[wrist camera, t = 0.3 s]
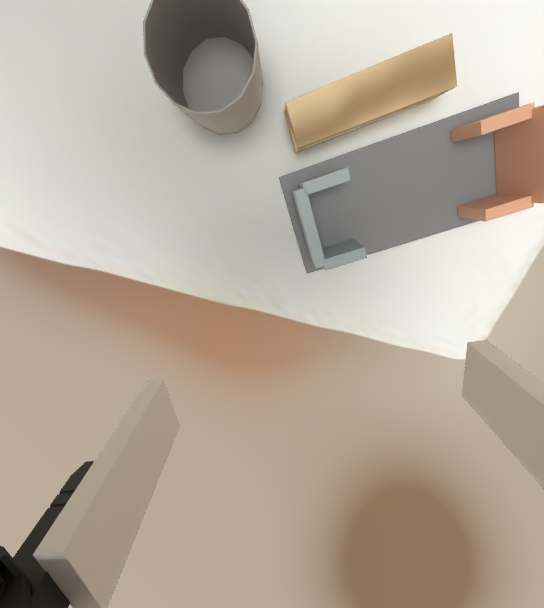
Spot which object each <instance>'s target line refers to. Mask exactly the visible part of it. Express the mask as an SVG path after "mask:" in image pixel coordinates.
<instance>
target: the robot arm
mask: <svg viewBox="0 0 544 608" xmlns="http://www.w3.org/2000/svg"><path fill="white" fill-rule="evenodd" d="M462 396H463V398H464V399H465V400H466V401H467V402H468V403H469V404H470V406H471V407H472V408H473V409H474V410H475V411H476V412H477V414H478V415H479V416H480V417H481V418H482V419H483V420H484V421H485V423H486V424H487V425H488V426H489V427H490V428H491V430H492V431H493V432H494V433H495V434H496V435H497V436H498V437H499V439H500V440H501V441H502V442H503V443H504V444H505V445H506V447H507V448H508V449H509V450H510V451H511V452H512V453H513V454H514V456H515V457H516V458H517V459H518V460H519V461H520V463H521V464H522V465H523V466H524V467H525V468H526V469H527V470H528V471H529V473H530V474H531V475H532V476H533V477H534V478H535V480H536V481H537V482H538V483H539V484H540V485H541V486H542V487H543V489H544V382H543V381H541V380H540V379H539V378H537V377H536V376H535V375H533V374H532V373H531V372H529V371H528V370H526V369H525V368H524V367H522V366H521V365H520V364H518V363H517V362H516V361H514V360H513V359H512V358H510V357H509V356H507V355H506V354H505V353H503V352H502V351H501V350H499V349H498V348H497V347H495V346H494V345H493V344H491V343H490V342H489V341H487V340H484V341H476V342H468V344H467V353H466V362H465V371H464V380H463V388H462ZM179 427H180V425H179V423H178V420H177V417H176V414H175V411H174V408H173V406H172V403H171V400H170V397H169V394H168V391H167V389H166V386H165V383H164V380H155V381H147V382H146V384H145V385H144V387H143V388H142V390H141V391H140V393H139V394H138V396H137V397H136V399H135V400H134V402H133V403H132V405H131V406H130V408H129V409H128V411H127V413H126V414H125V415H124V417H123V418H122V420H121V421H120V423H119V424H118V426H117V428H116V429H115V431H114V432H113V434H112V435H111V437H110V438H109V440H108V441H107V443H106V444H105V446H104V447H103V449H102V450H101V452H100V453H99V455H98V457H97V458H96V459H95V461H91V462H90V461H89V462H85V463H84V464H83V465H82V466H81V467H80V468H79V469H78V470H77V471H76V472H74V473H73V474H72V475H71V476H70V478H69V479H68V481H67V482H66V484H65V485H64V486H63V488H62V489H61V491H60V494H59V495H57V496H56V498H55V499H54V500H53V502H52V503H51V506H50V508H48V509H47V510H46V512H45V513H44V515H43V516H42V517H41V519H40V520H39V522H38V523H37V525H36V526H35V528H34V529H33V530H32V532H31V533H30V534H29V536H28V537H27V539H26V540H25V542H24V543H23V544H22V546H21V547H20V549H19V550H18V551H17V553H16V554H15V556H14V557H13V558H12V557H11V556H10V554H9V553H8V552H7V551H6V550H5V548H4V547H2V546H0V608H68V606H69V604H70V605H71V606H72V607H73V608H107V607H108V605H109V603H110V600H111V598H112V595H113V593H114V590H115V588H116V585H117V583H118V580H119V578H120V575H121V573H122V570H123V568H124V565H125V562H126V560H127V558H128V555H129V553H130V550H131V548H132V545H133V542H134V540H135V538H136V535H137V532H138V530H139V528H140V525H141V522H142V520H143V517H144V515H145V512H146V510H147V507H148V505H149V502H150V500H151V497H152V495H153V492H154V490H155V487H156V485H157V482H158V480H159V477H160V475H161V472H162V470H163V467H164V465H165V462H166V460H167V457H168V455H169V452H170V450H171V447H172V445H173V442H174V440H175V437H176V434H177V432H178V430H179Z"/></svg>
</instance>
